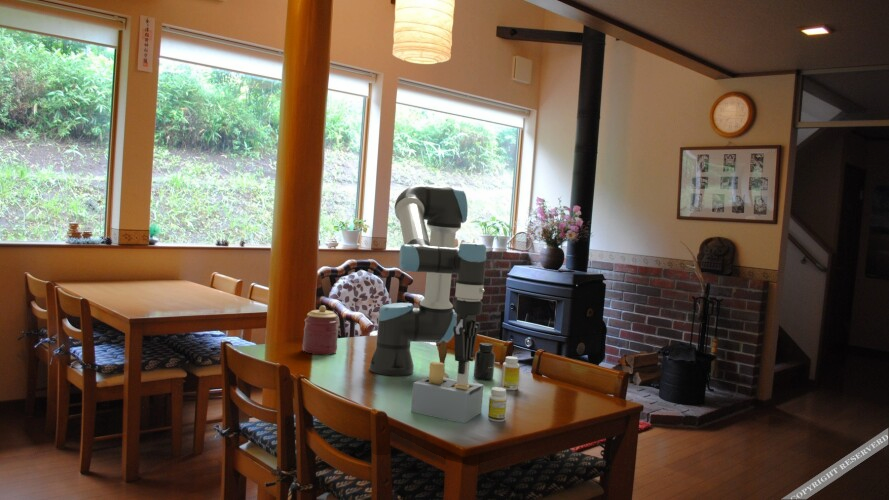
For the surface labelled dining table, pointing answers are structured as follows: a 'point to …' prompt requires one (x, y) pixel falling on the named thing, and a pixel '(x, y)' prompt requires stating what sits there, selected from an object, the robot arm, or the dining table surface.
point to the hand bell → (443, 355)
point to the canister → (320, 332)
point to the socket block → (447, 399)
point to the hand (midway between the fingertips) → (462, 384)
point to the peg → (436, 372)
